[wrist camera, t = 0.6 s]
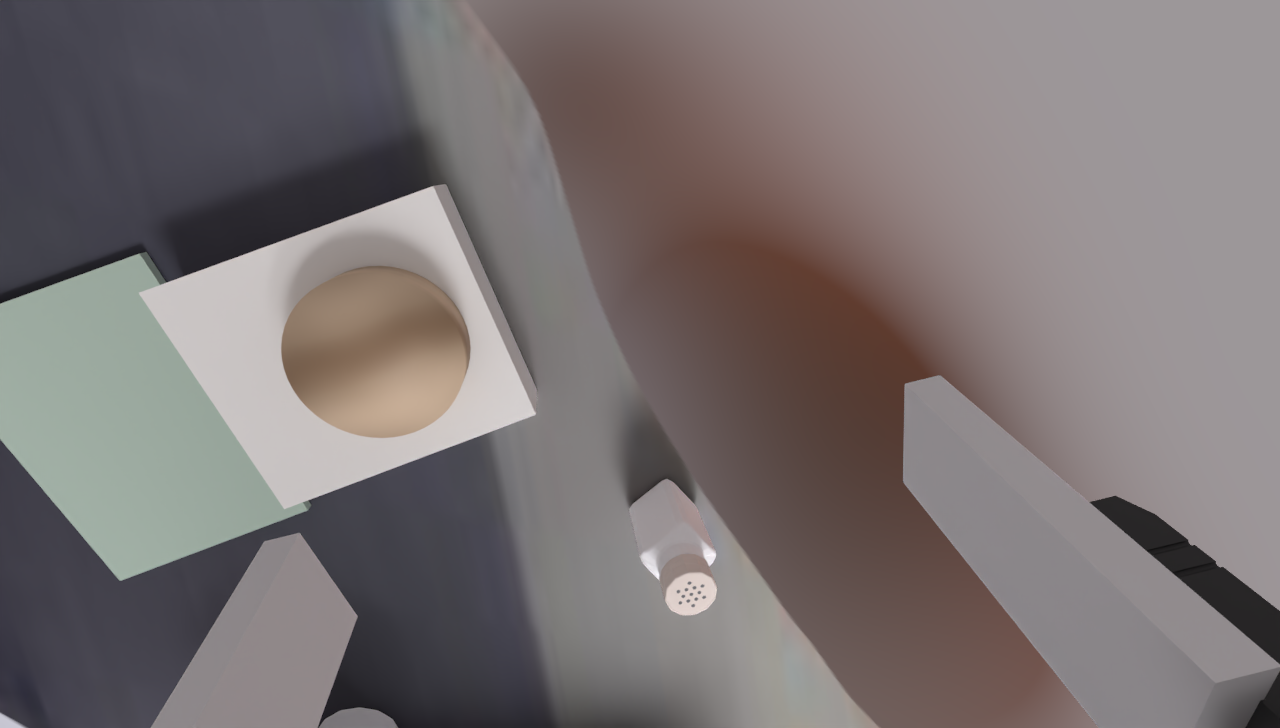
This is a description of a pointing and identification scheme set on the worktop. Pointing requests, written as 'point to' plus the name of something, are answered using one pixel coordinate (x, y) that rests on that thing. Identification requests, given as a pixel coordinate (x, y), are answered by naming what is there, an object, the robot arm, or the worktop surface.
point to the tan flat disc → (376, 351)
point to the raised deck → (259, 308)
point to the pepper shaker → (675, 547)
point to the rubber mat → (122, 423)
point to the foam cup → (358, 719)
